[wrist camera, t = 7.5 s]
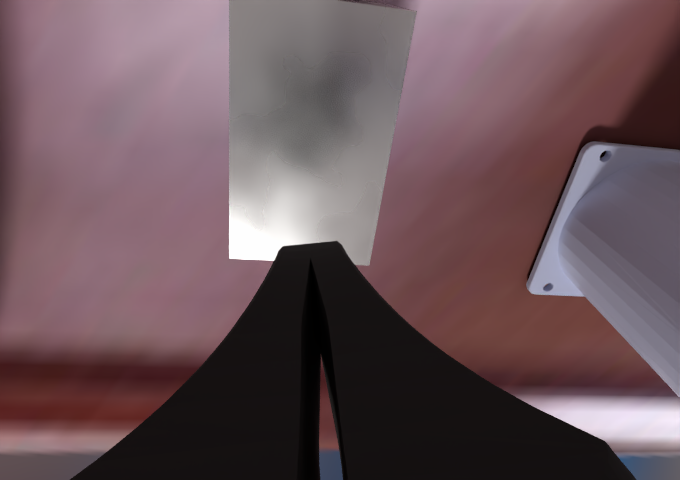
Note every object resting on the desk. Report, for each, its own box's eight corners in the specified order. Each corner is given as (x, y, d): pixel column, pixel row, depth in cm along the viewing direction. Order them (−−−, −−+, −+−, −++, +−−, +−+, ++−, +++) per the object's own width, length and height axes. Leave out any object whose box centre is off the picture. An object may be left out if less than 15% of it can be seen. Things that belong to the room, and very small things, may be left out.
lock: (352, 203, 20) (369, 265, 16) (242, 196, 19) (229, 258, 15) (382, 3, 16) (416, 11, 12) (246, -16, 15) (229, -15, 11)
